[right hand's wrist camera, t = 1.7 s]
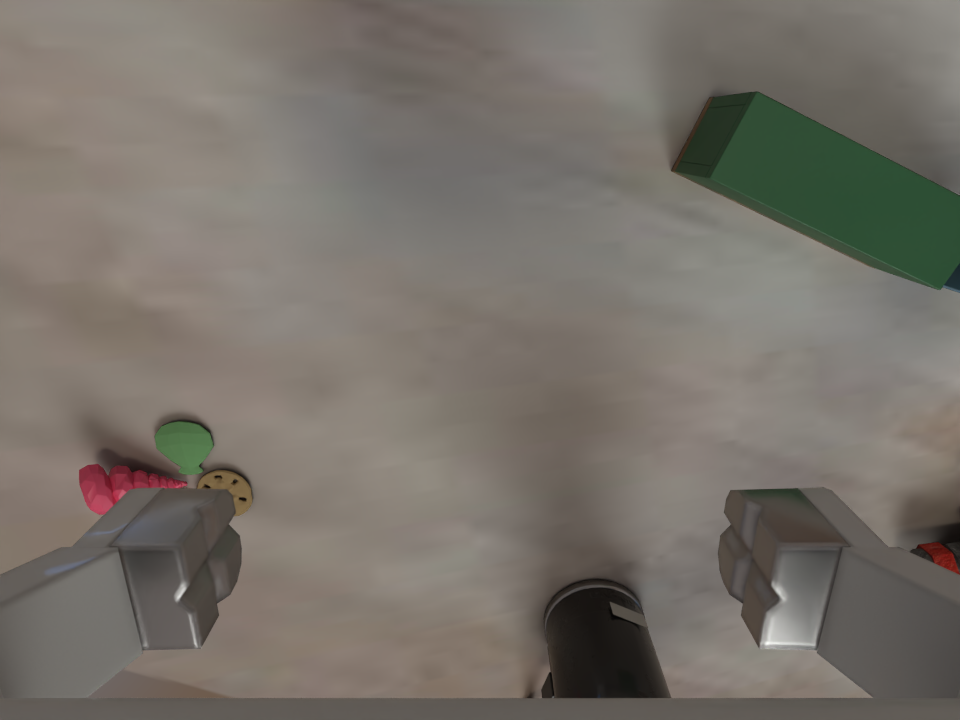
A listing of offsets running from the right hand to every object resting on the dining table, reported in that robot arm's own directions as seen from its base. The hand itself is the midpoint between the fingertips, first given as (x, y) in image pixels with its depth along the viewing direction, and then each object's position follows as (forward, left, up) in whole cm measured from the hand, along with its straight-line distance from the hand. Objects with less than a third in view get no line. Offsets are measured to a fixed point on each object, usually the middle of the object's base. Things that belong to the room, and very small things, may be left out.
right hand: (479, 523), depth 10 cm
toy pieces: (+8, -33, -38) cm, 51 cm away
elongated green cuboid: (+8, +21, -38) cm, 44 cm away
